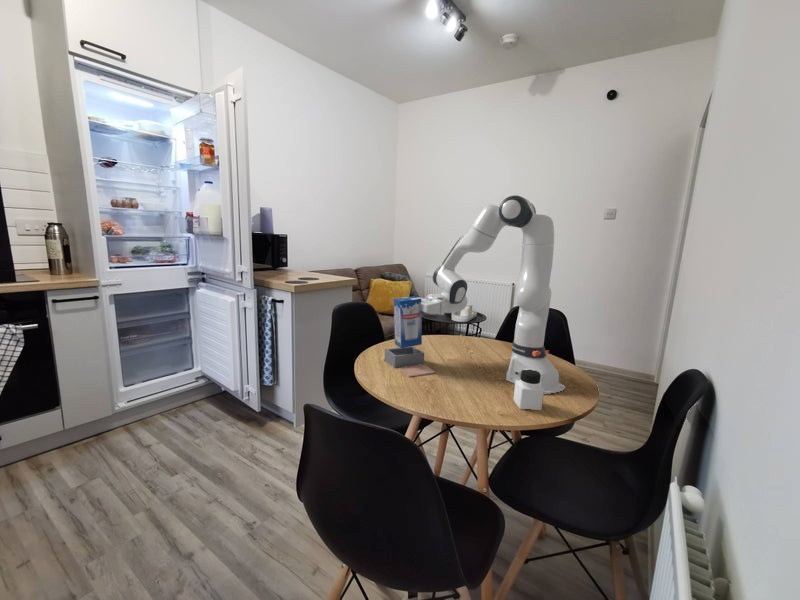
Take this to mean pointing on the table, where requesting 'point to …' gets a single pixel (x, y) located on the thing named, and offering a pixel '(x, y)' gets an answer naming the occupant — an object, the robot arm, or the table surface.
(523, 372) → the medicine bottle
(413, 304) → the milk carton
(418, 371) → the terracotta tile
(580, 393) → the table surface
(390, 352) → the carton holder
